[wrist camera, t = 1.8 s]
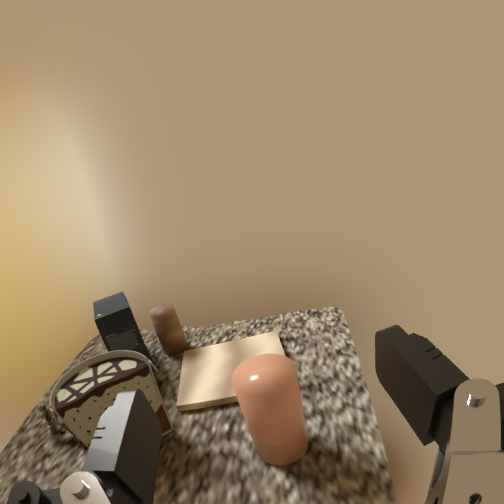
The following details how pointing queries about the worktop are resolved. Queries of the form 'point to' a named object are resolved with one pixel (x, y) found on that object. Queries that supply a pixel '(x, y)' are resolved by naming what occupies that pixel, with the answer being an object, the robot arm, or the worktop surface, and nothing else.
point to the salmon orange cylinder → (272, 407)
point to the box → (118, 325)
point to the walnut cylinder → (168, 329)
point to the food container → (104, 391)
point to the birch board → (219, 370)
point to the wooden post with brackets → (59, 425)
